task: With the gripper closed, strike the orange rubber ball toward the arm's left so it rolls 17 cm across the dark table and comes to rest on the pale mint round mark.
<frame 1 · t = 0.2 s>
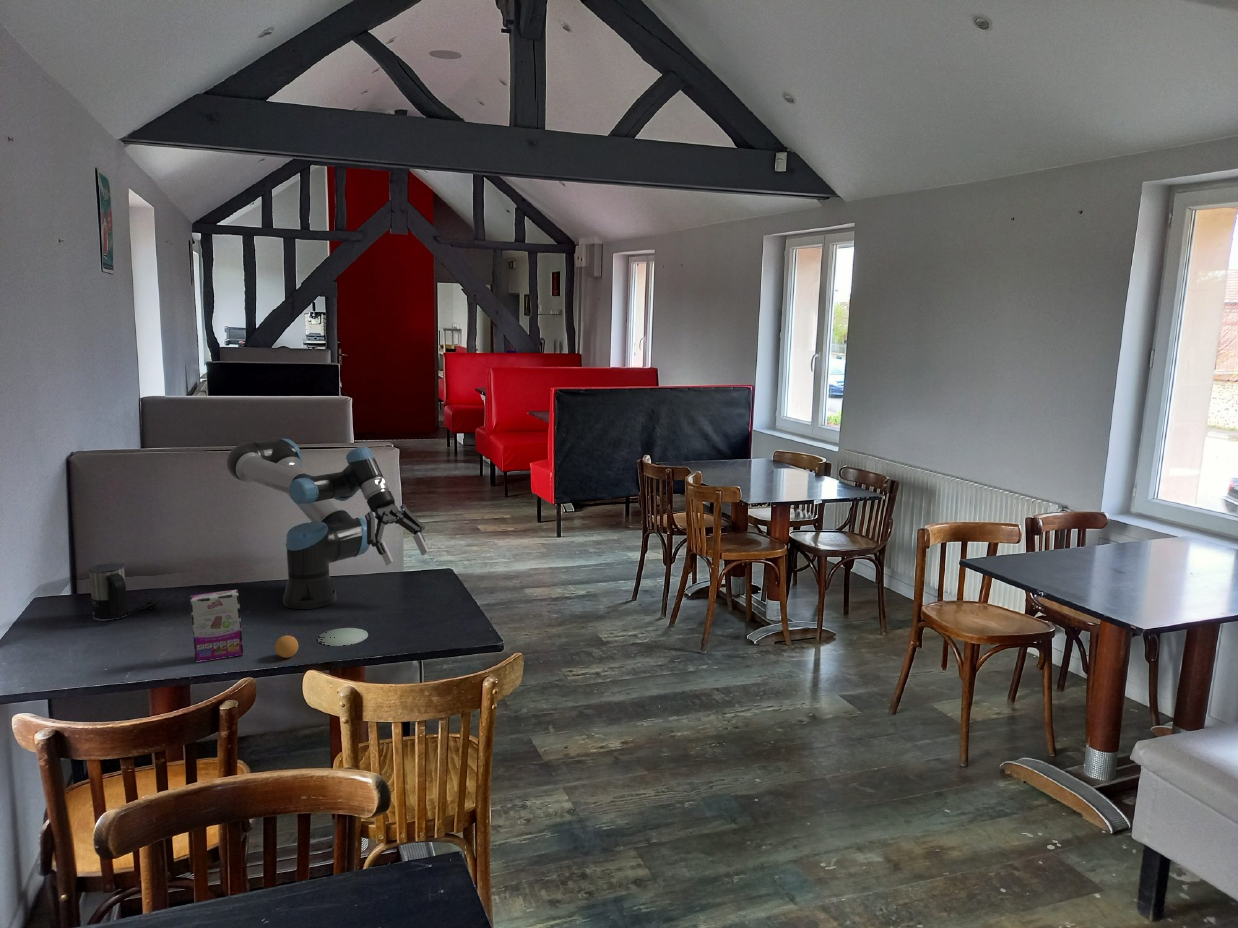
hand: (408, 558, 255), 15 cm above the table, tool tilted 35°, fingers open, 13 cm apart
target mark: (342, 637, 234), on the table
milk frother: (127, 614, 250), on the table
ball: (286, 646, 220), on the table
candy bar box: (219, 657, 220), on the table
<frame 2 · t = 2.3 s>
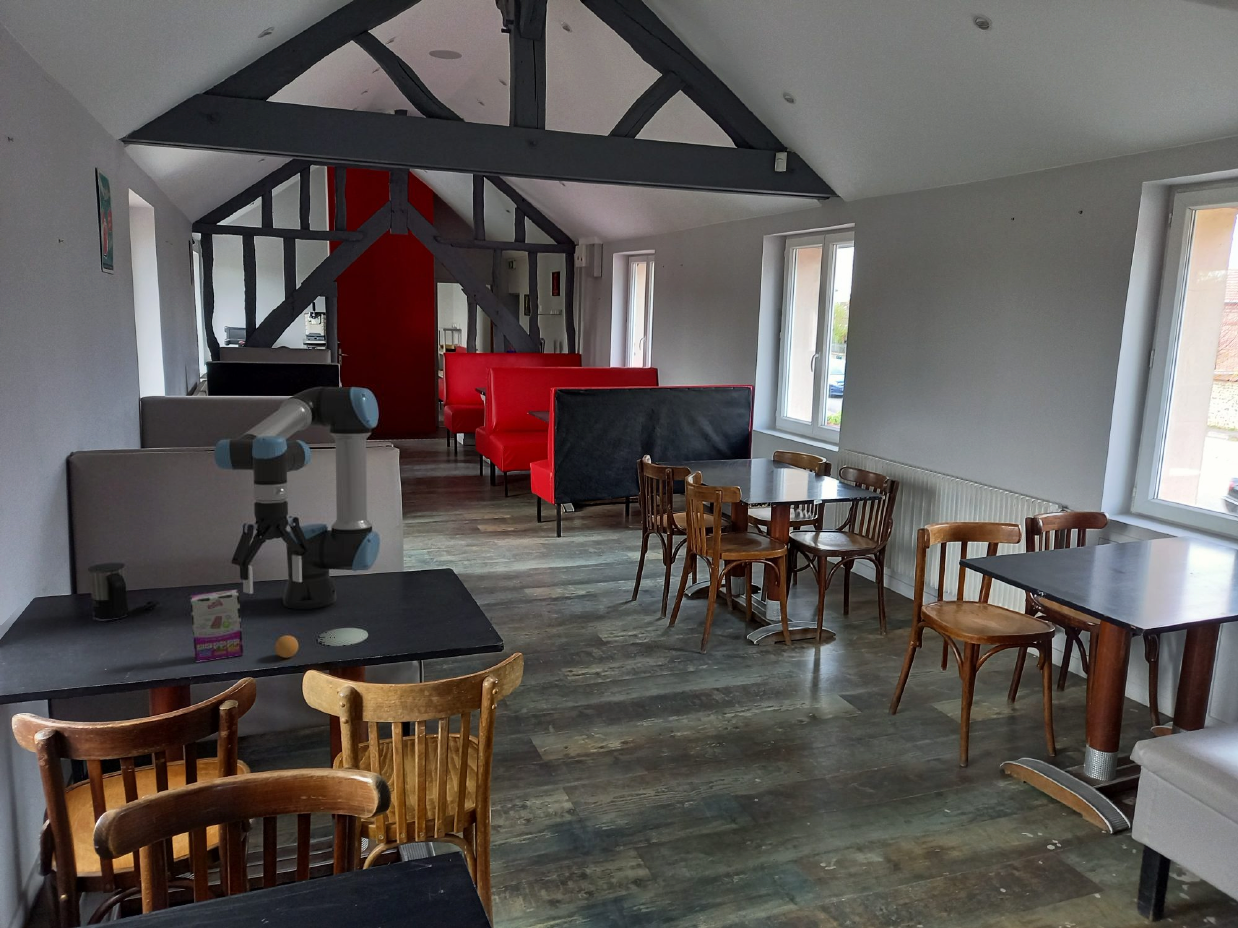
hand: (273, 586, 212), 20 cm above the table, tool pointing down, fingers open, 13 cm apart
nothing on the table moved.
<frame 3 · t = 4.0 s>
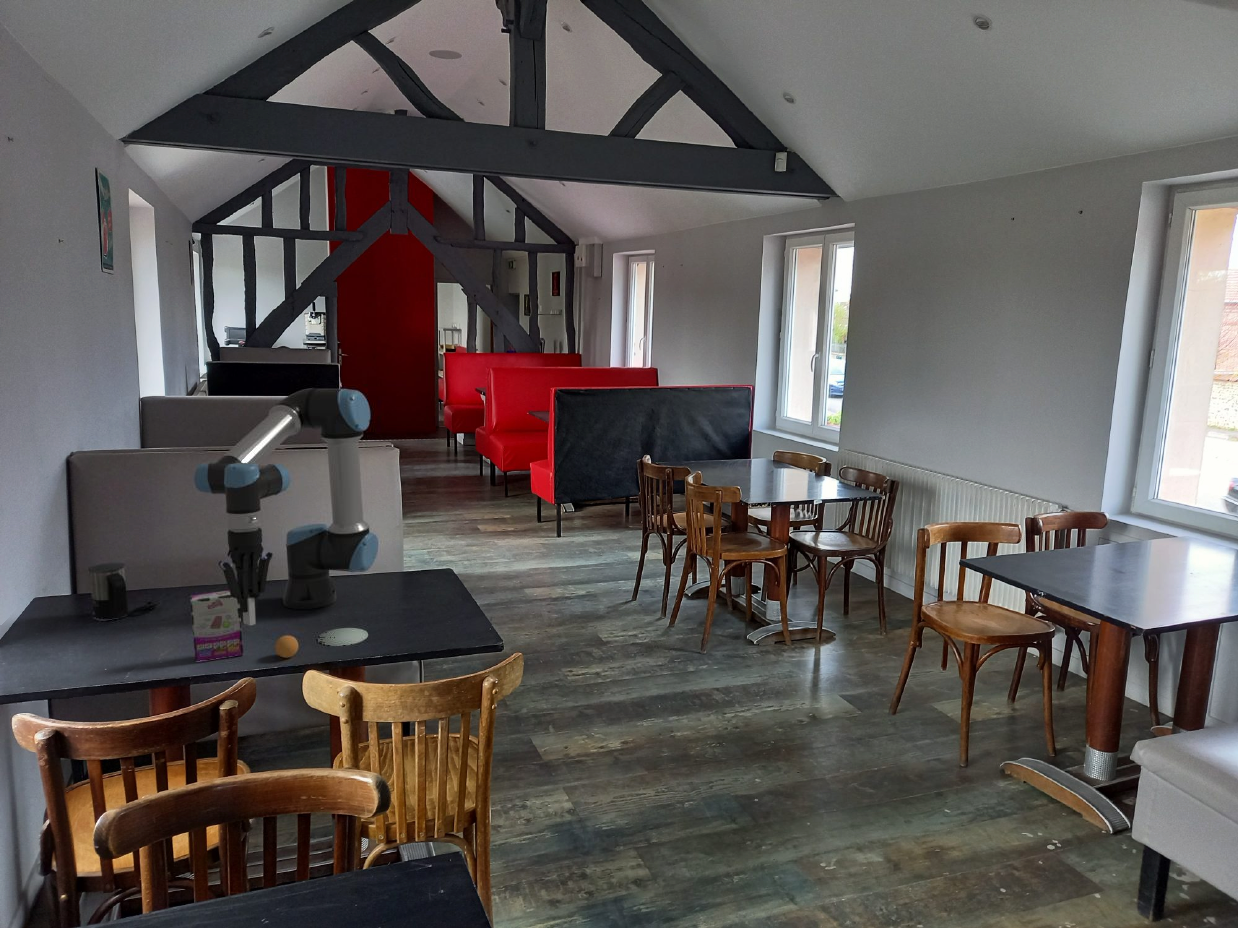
hand: (249, 623, 211), 12 cm above the table, tool pointing down, fingers closed
nothing on the table moved.
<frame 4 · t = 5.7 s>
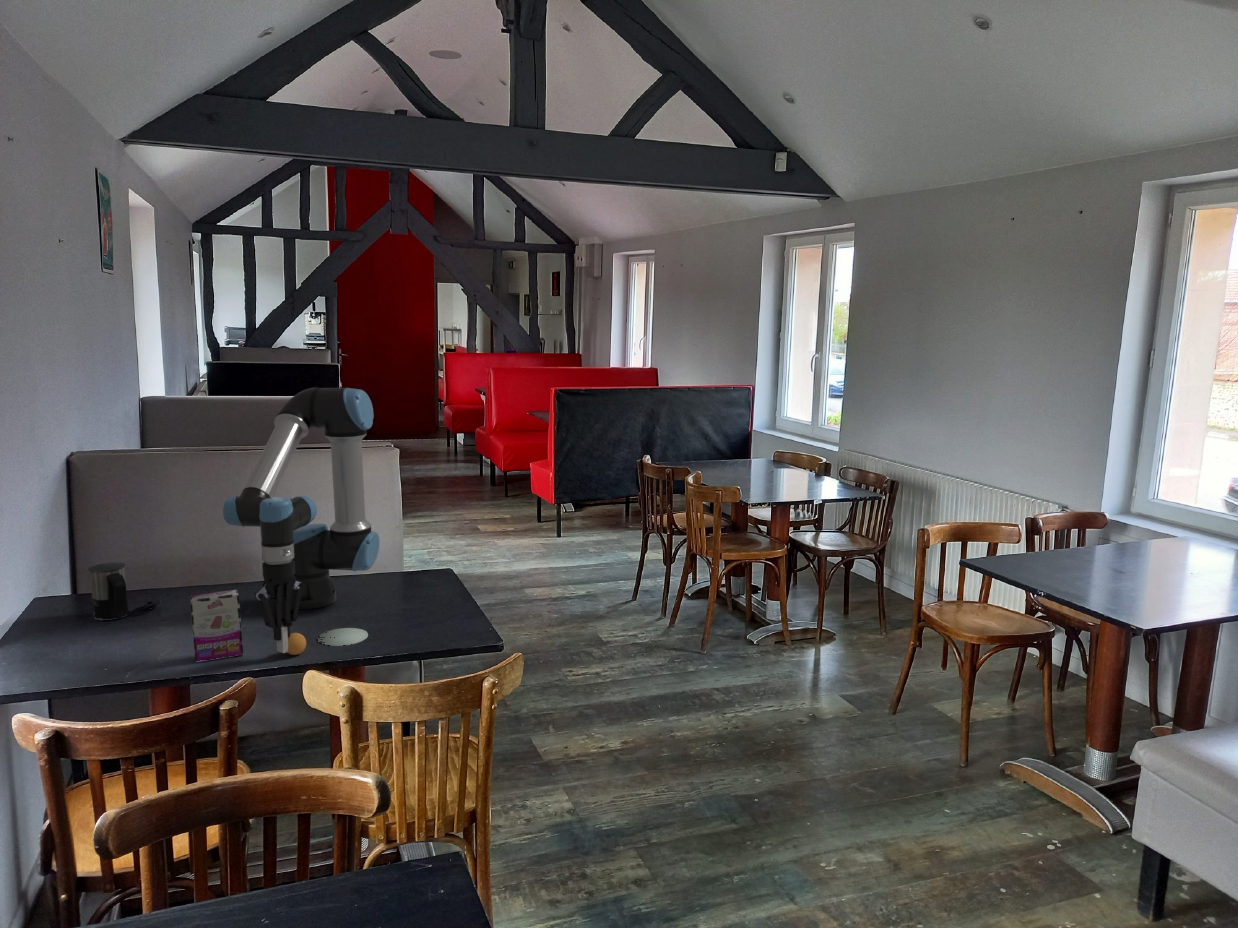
hand: (282, 650, 219), 2 cm above the table, tool pointing down, fingers closed
ball: (294, 643, 222), on the table, touching gripper
everything else where it was.
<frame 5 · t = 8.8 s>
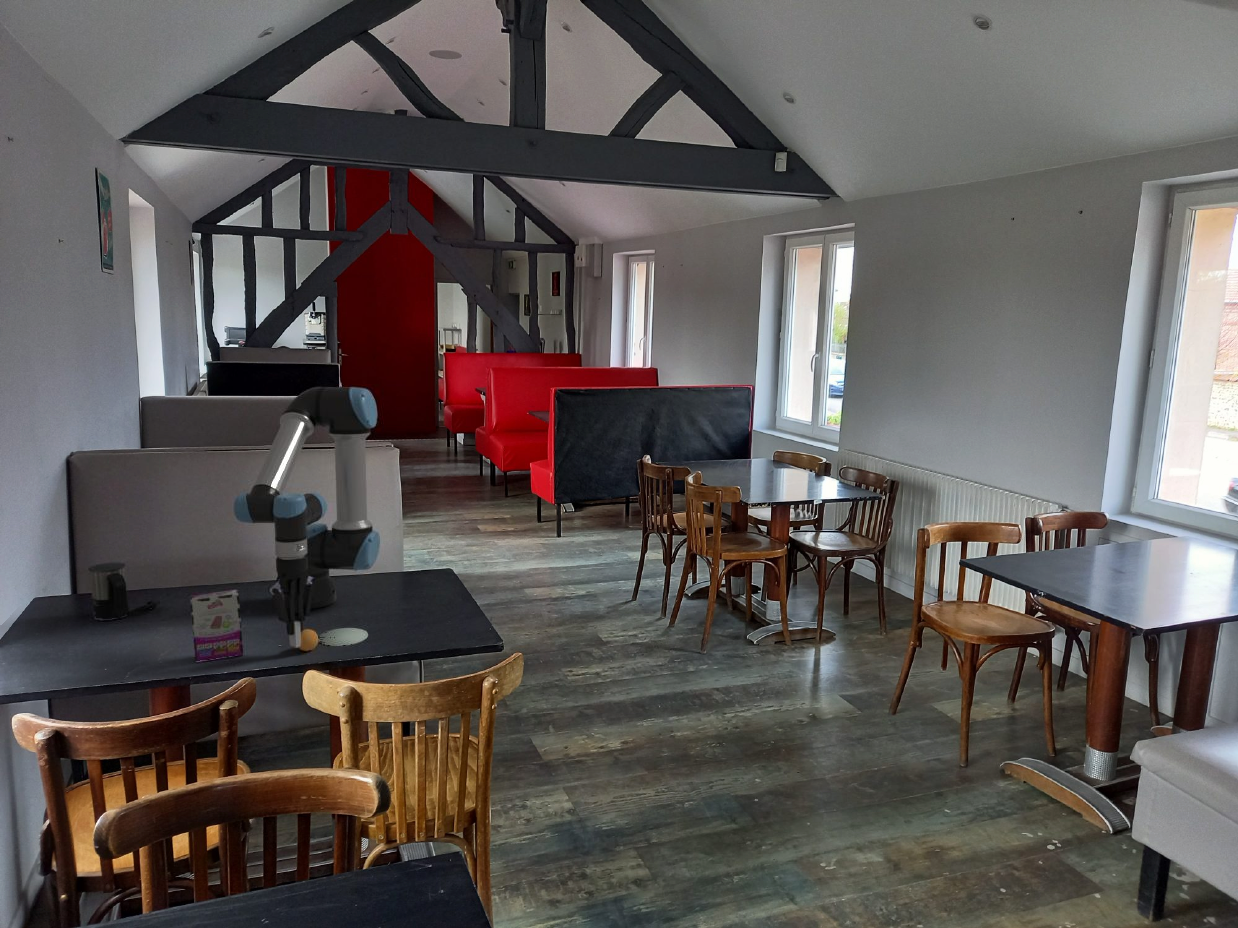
hand: (295, 645, 222), 2 cm above the table, tool pointing down, fingers closed
ball: (307, 639, 225), on the table, touching gripper
everything else where it was.
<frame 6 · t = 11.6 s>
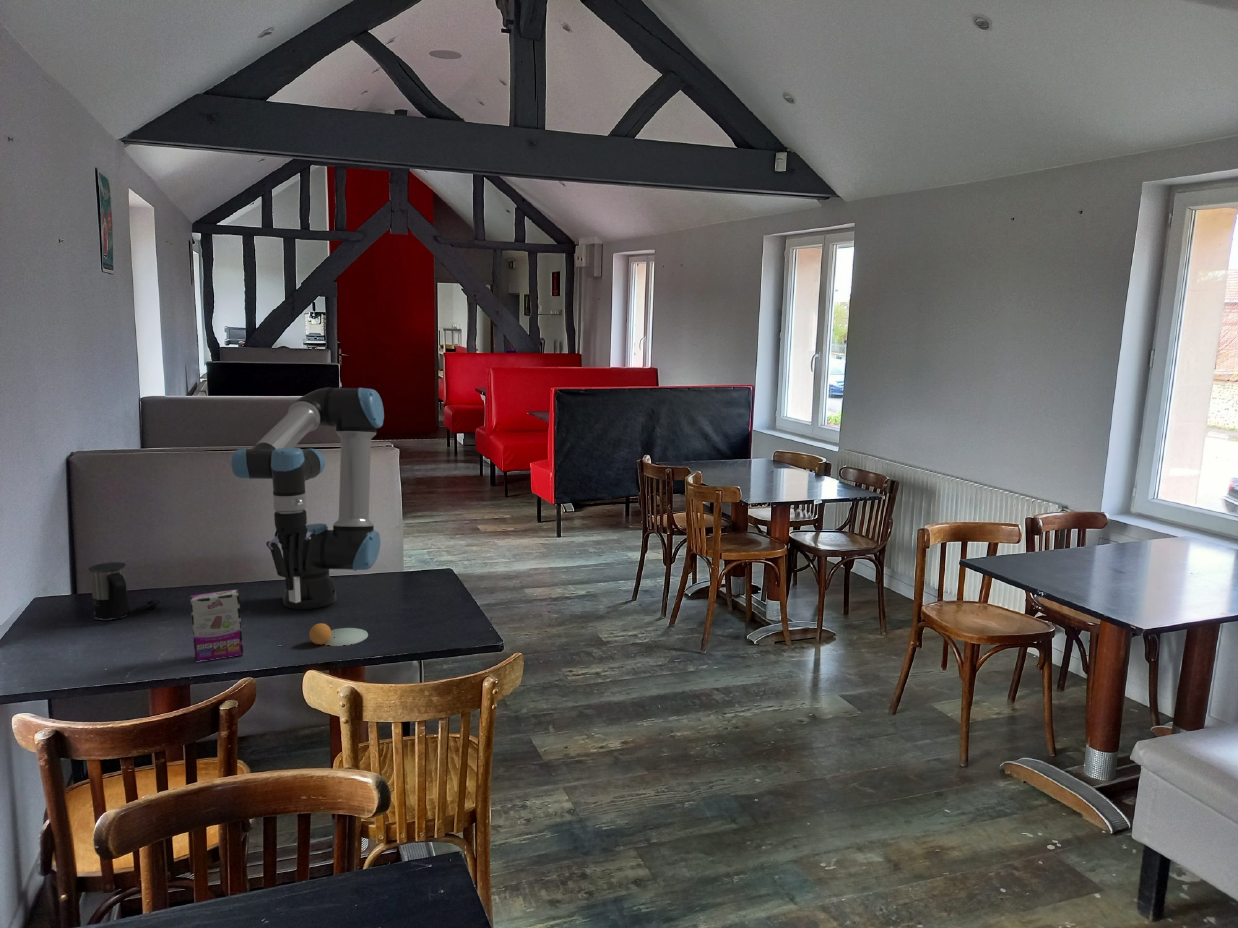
hand: (294, 601, 221), 14 cm above the table, tool pointing down, fingers closed
ball: (320, 633, 229), on the table
everything else where it was.
at the end: ball 6.5 cm from the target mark (horizontally); ball at rest at the end (0.0 cm/s); ball moved 10.5 cm from its start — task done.
